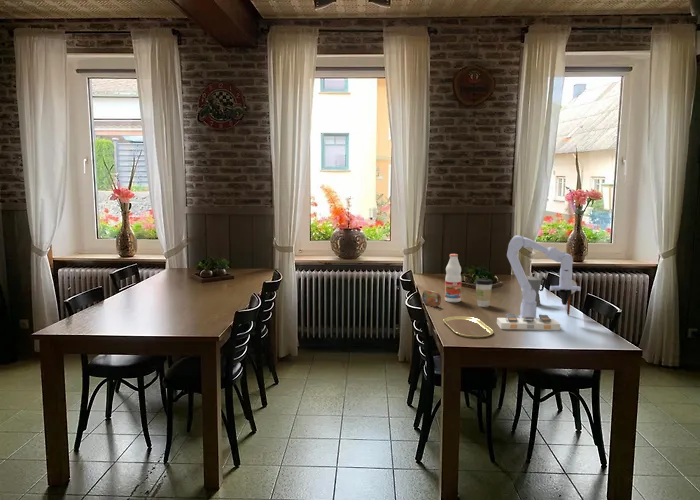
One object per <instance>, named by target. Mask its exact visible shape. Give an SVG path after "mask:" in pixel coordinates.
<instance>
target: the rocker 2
mask: <svg viewBox="0 0 700 500" xmlns="http://www.w3.org/2000/svg"><path fill="white" fill-rule="evenodd" d="M538 318H540V319H541V320H542V321H548V322H551V319H552V318H550V317H549V316H548V315H547V314H538Z"/></svg>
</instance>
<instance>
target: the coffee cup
mask: <svg viewBox="0 0 700 500" xmlns="http://www.w3.org/2000/svg"><path fill="white" fill-rule="evenodd" d="M474 284H475V292H476V300H477V301H476V302H477V306H478V307H481V308H488V307H489V306H490V301H491V295H492V290H493V288H492V287H493V284H494V283H493V280H492V279H490V278H477V279H476V281H475V282H474Z"/></svg>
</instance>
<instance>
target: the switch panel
mask: <svg viewBox="0 0 700 500" xmlns="http://www.w3.org/2000/svg"><path fill="white" fill-rule="evenodd" d="M516 318H517V322H509V321H508V319H507V317H497V318H496V325H498V327H499V328H500V330H532V331H533V330H535V331H536V330H538V331H561V323H560V322H558V321H557V320H556V319H555V318H550V319H551V322H548V321H542V320H541V319H540V318H539V317H538V318H537V317H536V318H534V319H523V318H519V317H516Z"/></svg>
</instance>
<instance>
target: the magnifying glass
mask: <svg viewBox="0 0 700 500" xmlns="http://www.w3.org/2000/svg"><path fill="white" fill-rule="evenodd" d="M571 286H579V285H578V281H576V280H575V279H574V278H572V285H571ZM571 291H572V290H571ZM576 292H577V291H572V293H571V295H574V294H575V293H576ZM571 295H570V296H569V298H568V301H567V304H566V305H567V308H566V309H567V310H566V315H567V317H568V316H570V313H571V312H570V311H571Z"/></svg>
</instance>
